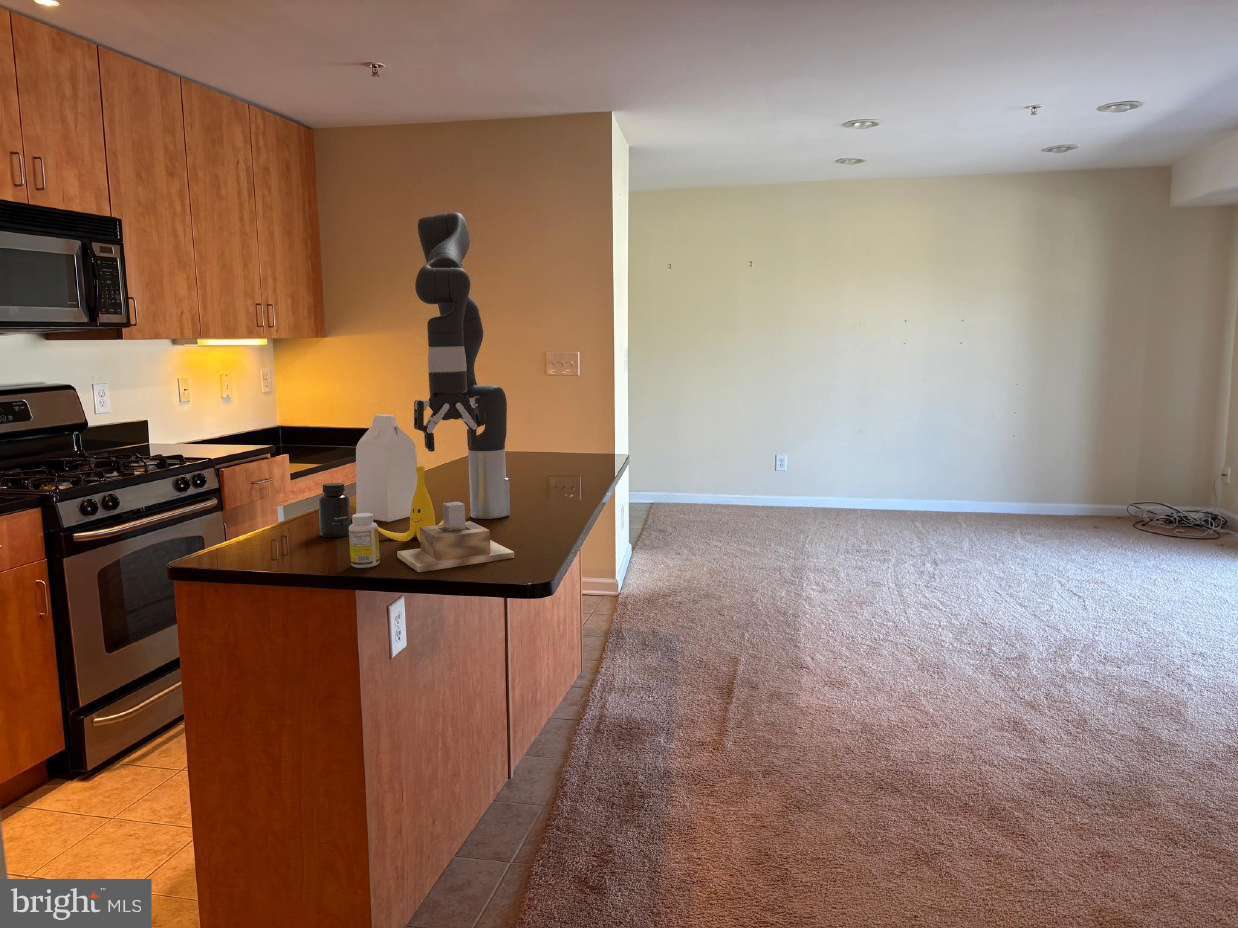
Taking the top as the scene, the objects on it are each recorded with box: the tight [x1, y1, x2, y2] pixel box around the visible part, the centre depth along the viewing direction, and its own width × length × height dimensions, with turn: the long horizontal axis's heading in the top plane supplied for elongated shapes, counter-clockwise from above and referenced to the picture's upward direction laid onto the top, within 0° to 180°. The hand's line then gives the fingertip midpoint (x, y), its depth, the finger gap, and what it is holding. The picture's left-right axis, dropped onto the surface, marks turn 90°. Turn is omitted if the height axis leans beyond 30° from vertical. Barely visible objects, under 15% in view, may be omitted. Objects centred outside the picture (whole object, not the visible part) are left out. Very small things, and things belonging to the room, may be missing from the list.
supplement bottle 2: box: [348, 513, 381, 569], centre depth 165 cm, size 6×6×10 cm
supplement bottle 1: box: [318, 482, 352, 539], centre depth 192 cm, size 7×7×12 cm
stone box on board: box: [396, 520, 515, 573], centre depth 170 cm, size 20×14×6 cm
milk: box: [355, 414, 419, 522], centre depth 213 cm, size 12×12×26 cm
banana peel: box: [378, 465, 443, 543], centre depth 190 cm, size 17×19×17 cm
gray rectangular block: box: [442, 501, 466, 533], centre depth 170 cm, size 3×3×10 cm
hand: (451, 449), depth 169 cm, fingers open, 8 cm apart
